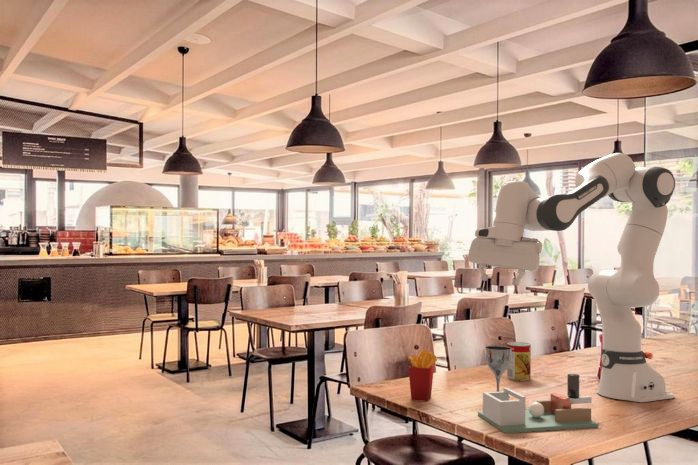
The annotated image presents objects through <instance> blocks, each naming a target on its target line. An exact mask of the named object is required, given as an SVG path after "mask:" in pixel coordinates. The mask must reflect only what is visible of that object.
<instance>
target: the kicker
mask: <svg viewBox="0 0 698 465" xmlns="http://www.w3.org/2000/svg"><path fill="white" fill-rule="evenodd" d="M566 385H567V389H566V390H567V391H566V392H567V393H566V394H567V396H564V395H562V394H560V393H557V392H556V393H550V400H551V412H552V413H554V414H555V410H556V409H570V404H571V405H580V404H592V396H590V395H580V375H579V374H578V373H568V374H567V384H566Z"/></svg>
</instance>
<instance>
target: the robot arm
mask: <svg viewBox="0 0 698 465" xmlns="http://www.w3.org/2000/svg"><path fill="white" fill-rule="evenodd" d="M635 166H636V165H635V163H634V161H633V159H632V158H631V156H629V155H627V154H626V153H623V152H615V153H611V154H608V155H606V156H602V157H600V158H598V159H595V160H594V161H593V162H590V163H589V164H587V165H585V166H584V167H583V168H582V169H580V170H579V171H578V172H577V173H576V174H575V179H574V184H575V188H574V189H573V190H571V191H569V192H568V193H566V194H564V193H561V194H555V195H554V194H553V195H550V196H542V197H541V196H539V195H538V194H537V193H536V192H534V190H533V189H532V188H531V186H530V183H529V182H527V181H524V180H510V181H507V182H505V183H503V184H502V185H501V187H500V189H499V191H498V194H497V200H496V205H495V217H494V220H493V223H492V226H489V227H484V228H483V227H482V228H479V229H478V228H477V229H476V230H475V231H474V236H475V238H473V240H472V241H471V244H470V246H469V250H468V255H467V258H468V261H469V262H470V263H472V264H478V269H479V272H480V281H483V282H484V281H485V282H487V281H488V278H489V274H487V273H486V271H485V269H487V266H491V267H498V268H505V269H512V270H517V276H516V277H515V278H512V282H511V285H513V286H517V287H519V285H520V281H521V279H522V278H523V277H524V276H525V275H526V272H532V273H533V272H535V273H536V272H537V271H538V270H539V269H540V254H541V252H542V249H543V244H542V242H541V241H540V240H538V239H537V238H531V237H524V232H525V230H526V231H532V232H538V231H539V232H541V231H546V232H547V231H553V232H562V231H565V230H566V229H569V227H571V225H572V224H573V223H574V222H575V220H576V219H577V218H578V217H579V215H580V214H581V213H582V212H583V211H585V210H586V209H588V208H590V207H591V206H592V205H594V204H596V203H597V202H598V201H600V200H601V199H603V198H605V197H607V196H608V197H609V198H610V199H611V200H612V201H615V202H617V203H631V207H632V209H631V213H630V214H629V218H627V221H626V223H625V226H624V229H623V231H622V234H621V235H620V236H621V237H620V239H619V241H618V244H617V247H616V248H617V253H618V254H619V255H620V266H619V269H610V268H609V269H602V270H598V271H596V272H594V273H593V274H592V275H590V277H589V279H588V282H587V290H588V292H589V294H590V295H591V297H592V298H593V299H594V301H595V303H596V306H597V309H598V312H599V316H600V319H601V320H600V321H601V329H602V333H601V334H602V347H601V348H600V350H601V351H600V361H601V362H600V363H601V371H600V379H599V383H598V388H597V390H596V393H597V394H598V395H600V396H603V397H606V398H610V399H615V400H622V401H630V402H635V403H636V402H637V403H647V402H653V401H660V400H668V399H674V398H675V394H674V393H673V392H671V391H669V390H667V387H666V381H665V377H664V376H663V375H662V374H661V373H660V372H658V371H657V370H656V369H654V368H653V367H652V366H651V365H649V364H648V363H647V360H646V359H648V360H653V358H654V353H653V352H649V351H645V352H644V351H643V350H642V327H641V324H640V322H639V321H638V320H637V319H636V317H635V316H634V313H633V311H632V308H642V307H648V306H651V305H653V304H654V303H655V302H656V301H657V300H658V298H659V295H660V285H659V283H658V281H657V279H656V278H655V274H654V265H655V264H654V263H655V257H656V254H657V253H658V252H657V251H658V248H659V246H660V243H661V241H662V238H663V235H664V234H665V233H664V232H665V229H666V225H667V220H668V215H669V214H668V213H669V209H668V206H667V204H668V203H669V202H670V200H671V197H672V196H673V194H674V191H675V189H676V188H675V187H676V180H675V177H674V174H673V172H672V171H671V170H669V169H667V168H665V167H661V166H639V167H637V166H636V167H635Z"/></svg>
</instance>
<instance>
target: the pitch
mask: <svg viewBox="0 0 698 465" xmlns="http://www.w3.org/2000/svg"><path fill="white" fill-rule="evenodd" d="M509 396H510V397H511V396H512V397H514V398H516V399H512V400H510V398H509ZM536 402H538V403H540V404H542V405H543V407H544V414H543V415H542V416H541V417H539V418H535V417H533V416H531V415H530V413H529V408H526V396H525V395H523V394H521V393H518V392H517V391H515V390H512V389H511V388H509V387H503V390H502V391H499V392H496V391H486V392H485V391H484V392H482V411H478V412H477V416H479V417H480V418H481V419H483V420H484V421H486V422H487V423H489V424H491V425H492V426H493V427H495V428H496V429H497V430H499V431H501V432H503V433H504V432H505V433H504V434H506V433H507V434H517V433H518V434H519V432H521V433H532V431H536V432H545V431H546V430H550V431H560V430H561V429H565V430H578V429H579V430H580V429H591V428H599V423H598V422H596V421H594V420H593V419H592V408H591V407H575V408H574V407H573V408H572V404H570V409H556V410H555V414H554V413H552V412H551V399H547V400H546V399H542V400H536ZM561 431H562V430H561ZM546 432H547V431H546Z"/></svg>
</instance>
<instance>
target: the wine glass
mask: <svg viewBox="0 0 698 465" xmlns="http://www.w3.org/2000/svg"><path fill="white" fill-rule="evenodd" d="M511 353H512V349H511V347H507V345H498V344H497V345H496V344H495V345H493V344H492V345H491V344H490V345H486V346H485V347H484V356H485V362H486V365H487V367H488V368H489V370H490V371H491V372H492V373H493V375H494V378H495V381H496V391H495V392H500V382H501V378H502V375H503V374H504V373H505V372H507V369H508V367H509V365H510V362H511ZM510 398H511V395H509V399H510Z"/></svg>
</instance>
